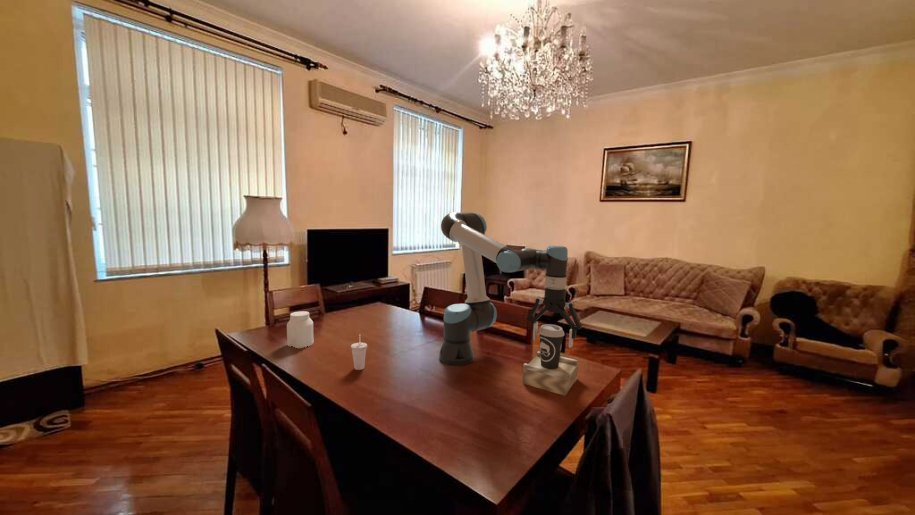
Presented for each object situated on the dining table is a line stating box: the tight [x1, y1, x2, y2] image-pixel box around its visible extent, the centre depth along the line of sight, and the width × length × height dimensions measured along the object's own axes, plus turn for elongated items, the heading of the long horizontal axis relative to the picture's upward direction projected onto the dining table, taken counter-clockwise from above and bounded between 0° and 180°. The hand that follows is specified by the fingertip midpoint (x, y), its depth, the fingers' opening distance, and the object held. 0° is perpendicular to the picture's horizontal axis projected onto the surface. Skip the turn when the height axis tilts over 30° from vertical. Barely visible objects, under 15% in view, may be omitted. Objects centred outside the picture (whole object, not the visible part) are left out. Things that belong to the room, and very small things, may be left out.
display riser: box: [522, 350, 579, 397], centre depth 133 cm, size 16×16×8 cm
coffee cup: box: [538, 324, 565, 369], centre depth 132 cm, size 10×10×15 cm
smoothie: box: [350, 333, 368, 371], centre depth 140 cm, size 6×6×14 cm
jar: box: [286, 310, 315, 349], centre depth 165 cm, size 12×10×15 cm
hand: (552, 342), depth 131 cm, fingers open, 13 cm apart
